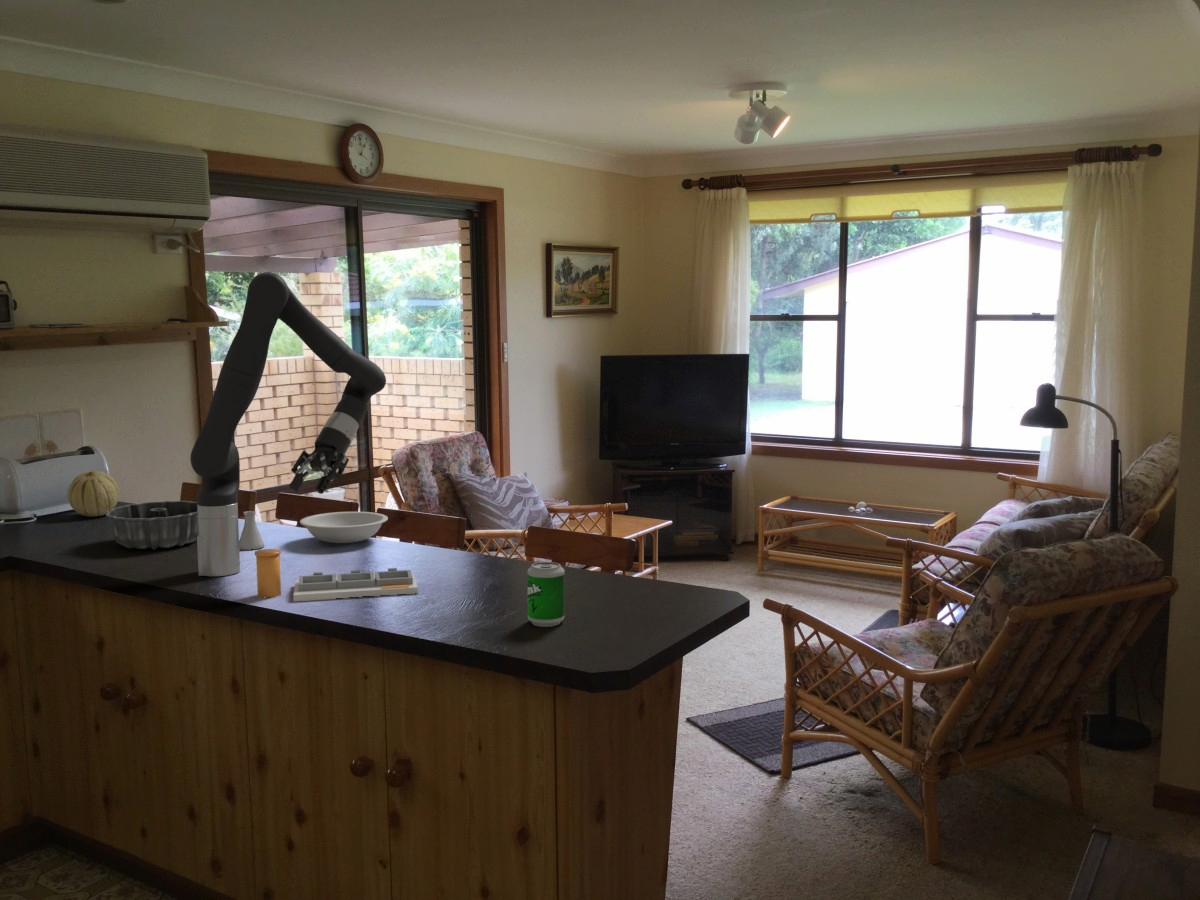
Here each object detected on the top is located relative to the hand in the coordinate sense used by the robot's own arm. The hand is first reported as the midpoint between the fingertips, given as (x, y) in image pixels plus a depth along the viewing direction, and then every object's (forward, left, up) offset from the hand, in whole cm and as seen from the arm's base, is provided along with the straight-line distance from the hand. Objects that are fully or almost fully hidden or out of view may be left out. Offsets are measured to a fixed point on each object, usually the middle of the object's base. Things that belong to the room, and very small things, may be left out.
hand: (305, 490), depth 230 cm
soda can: (+48, -45, -22) cm, 69 cm away
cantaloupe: (-68, +105, -22) cm, 127 cm away
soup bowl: (+9, +46, -22) cm, 52 cm away
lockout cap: (-8, -9, -22) cm, 25 cm away
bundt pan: (-41, +56, -22) cm, 73 cm away
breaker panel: (+11, -9, -22) cm, 26 cm away
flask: (-16, +44, -22) cm, 52 cm away
